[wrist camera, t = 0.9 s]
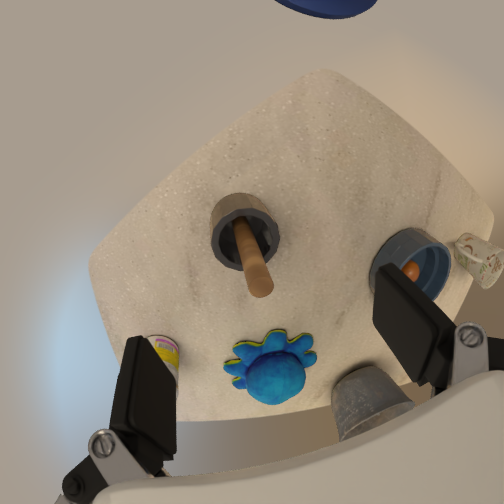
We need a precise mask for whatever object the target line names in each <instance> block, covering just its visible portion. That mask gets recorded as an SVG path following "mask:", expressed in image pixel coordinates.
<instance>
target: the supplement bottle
mask: <svg viewBox="0 0 504 504" xmlns="http://www.w3.org/2000/svg"><path fill="white" fill-rule="evenodd" d="M147 339H148V340H149V341H150V343H151V344H152V346H153V347H154V349H155V350H156V352H157V353H158V355H159V356H160V357H161V359H162V360H163V362H164V363H165V365H166V366H167V367H168V369H169V370H170V372H171V373H172V374H173V376H174V377H175V380H176V400H177V398H178V367H179V350H178V347H177V345H176V344H175V343H174V342H173V341H172V340H170V339H168V338H166V337H163V336H150V337H147Z"/></svg>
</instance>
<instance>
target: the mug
mask: <svg viewBox="0 0 504 504" xmlns="http://www.w3.org/2000/svg"><path fill="white" fill-rule="evenodd" d="M454 246H455V249H454V256H455V258H456V259H457V260H458V261H459V262H460V263H461V264H462V265H463V267H464V268H465V269H466V270H467V271H468V272H469V273H470V274H471V275H472V276H473V278H474V279H475V280H476V281H477V282H478V283H479V284H480V286H481V287H482V288H484V289H488V288H489V287H491V286H492V285H493V284H494V283H495V282H496V280H497V279H498V277H499V276H500V274H501V272H502V269H503V267H504V250H503V249H501V248H499V247H497V246H495V245H493V244H490V243H489V242H487V241H485V240H482V239H480V238H478V237H476V236H474V235H472V234H469V233H465V234H463V235H462V236H461V237H460V238H459V240H458V241H457V242H456V243H455V245H454Z"/></svg>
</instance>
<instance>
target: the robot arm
mask: <svg viewBox="0 0 504 504" xmlns="http://www.w3.org/2000/svg"><path fill="white" fill-rule="evenodd" d="M373 324H374V326H375V328H376V329H377V330H378V332H379V333H380V335H381V336H382V338H383V339H384V340H385V342H386V343H387V345H388V346H389V348H390V349H391V350H392V352H393V353H394V355H395V356H396V358H397V359H398V361H399V362H400V364H401V365H402V367H403V368H404V370H405V371H406V373H407V374H408V376H409V377H410V379H411V380H412V381H413V382H417V384H418V385H419V386H422V385H424V384H426V383H427V382H430V384H431V385H432V392H431V398H430V400H428V401H426V402H424V403H423V404H421V405H419V406H417V407H416V408H414V409H412V410H410V411H408V412H406V413H404V414H402V415H400V416H398V417H396V418H394V419H392V420H390V421H388V422H386V423H384V424H382V425H380V426H378V427H376V428H373V429H371V430H369V431H367V432H364V433H362V434H360V435H357V436H355V437H352V438H350V439H347V440H344V441H342V442H339V443H336V444H334V445H331V446H328V447H325V448H322V449H319V450H316V451H313V452H310V453H306V454H303V455H300V456H296V457H293V458H289V459H285V460H281V461H277V462H273V463H269V464H264V465H259V466H254V467H249V468H244V469H238V470H232V471H225V472H218V473H209V474H199V475H188V476H176V477H175V476H174V477H172V476H171V475H170V474H169V473H168V472H167V471H166V470H165V469H164V468H163V461H169V460H173V454H175V453H176V451H177V445H176V380H175V377H174V376H173V374H172V373H171V372H170V370H169V369H168V367H167V366H166V365H165V363H164V362H163V360H162V359H161V357H160V356H159V355H158V353H157V352H156V350H155V349H154V347H153V346H152V344H151V343H150V341H149V340H148V339H147V338H144V337H143V336H141V335H140V336H135V337H130V338H128V339H127V342H126V346H125V350H124V355H123V359H122V364H121V368H120V373H119V375H118V379H117V384H116V389H115V394H114V400H113V406H112V412H111V418H110V425H109V429H101V430H98V431H96V432H95V433H94V434H93V435H92V436H91V438H90V440H89V443H88V451H89V455H88V456H87V457H86V458H85V459H84V460H83V461H82V462H81V463H79V464H78V465H77V466H76V467H75V468H74V469H73V470H71V471H70V472H69V473H68V474H67V475H66V476H65V478H64V480H63V483H62V489H63V492H64V495H61V494H60V495H59V497H58V499H57V501H56V502H55V504H504V339H499V338H492V337H487V335H486V332H485V331H484V329H483V328H482V327H481V326H480V325H479V324H477V323H474V322H463V323H461V324H460V325H458V326H456V325H455V324H454V323H453V322H452V321H451V320H450V319H449V317H448V316H447V315H446V314H445V313H444V312H443V311H442V310H441V309H440V308H439V307H438V306H437V305H436V304H435V303H434V302H433V301H432V300H431V299H430V298H429V297H428V296H427V295H426V294H425V293H424V292H423V291H422V290H421V289H420V288H419V287H418V286H417V285H416V284H415V283H414V282H413V281H412V280H411V279H410V278H409V277H408V276H407V275H406V274H405V273H403V272H402V271H401V270H400V269H399V268H398V267H397V266H396V265H395V264H394V263H388V264H385V265H382V266H380V267H379V268H378V271H377V272H376V273H375V290H374V306H373Z"/></svg>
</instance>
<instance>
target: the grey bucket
mask: <svg viewBox="0 0 504 504" xmlns="http://www.w3.org/2000/svg"><path fill="white" fill-rule="evenodd" d="M331 406H332V411H333V414H334V418H335V421H336V424H337V428H338V432H339V439H340V442H342V441H344V440H347V439H350V438H352V437H355V436H357V435H360V434H362V433H364V432H367V431H369V430H371V429H373V428H376V427H378V426H380V425H382V424H384V423H386V422H388V421H390V420H392V419H394V418H396V417H398V416H400V415H402V414H404V413H406V412H408V411H410V410H412V409H413V408H414V406H415V402H413V401H412V400H411V399H409V398H408V397H407V396H406V395H405V394H404V392H403V391H402V390H401V389H400V387H399V386H398V385H397V384H396V383H395V382H394V381H393V380H392V378H391V377H390V376H389V375H388V374H387V373H385V372H384V371H383V370H382V369H380V368H377V367H370V366H369V367H365V368H361V369H358V370H356V371H354V372H352V373H350V374H349V375H347V376H346V377H344V378H343V379H342V380H341V381H340V382H339V383H338V384H337V385H336V386H335V388H334V390H333V392H332V397H331Z"/></svg>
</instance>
